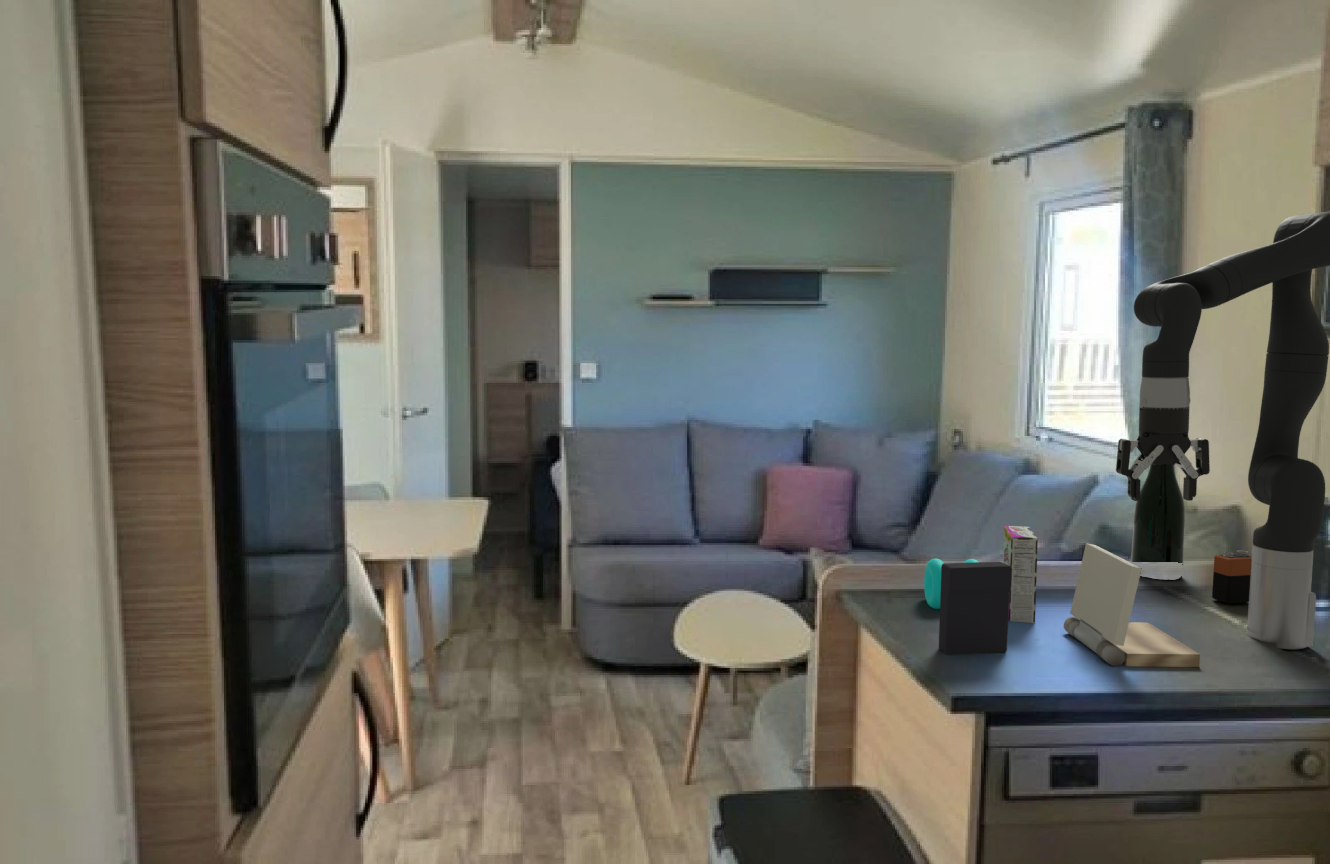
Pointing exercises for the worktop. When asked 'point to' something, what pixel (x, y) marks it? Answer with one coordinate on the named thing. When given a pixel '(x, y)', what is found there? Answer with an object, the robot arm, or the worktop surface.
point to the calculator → (974, 607)
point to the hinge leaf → (1104, 597)
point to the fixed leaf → (1143, 647)
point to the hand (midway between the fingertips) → (1161, 500)
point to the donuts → (935, 581)
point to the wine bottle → (1159, 518)
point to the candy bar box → (1021, 572)
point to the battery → (1232, 577)
